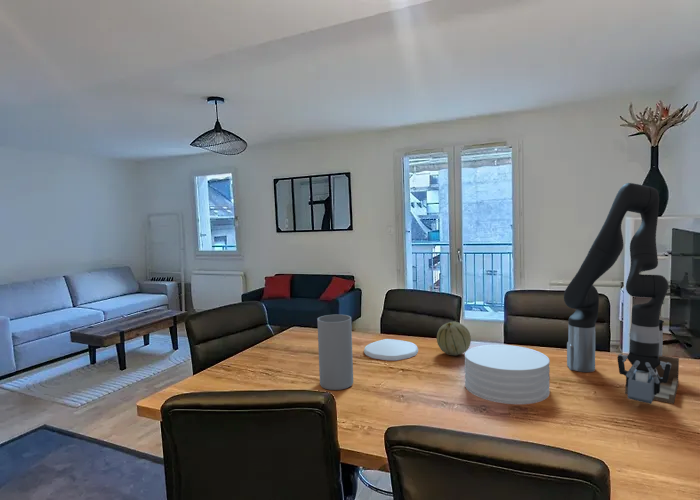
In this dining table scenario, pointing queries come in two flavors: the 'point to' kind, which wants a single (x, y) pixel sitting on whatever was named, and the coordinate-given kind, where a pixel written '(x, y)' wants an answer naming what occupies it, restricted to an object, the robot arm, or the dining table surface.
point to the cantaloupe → (453, 338)
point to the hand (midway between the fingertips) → (642, 390)
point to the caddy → (641, 386)
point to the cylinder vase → (335, 351)
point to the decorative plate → (391, 349)
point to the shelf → (670, 387)
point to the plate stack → (507, 374)
